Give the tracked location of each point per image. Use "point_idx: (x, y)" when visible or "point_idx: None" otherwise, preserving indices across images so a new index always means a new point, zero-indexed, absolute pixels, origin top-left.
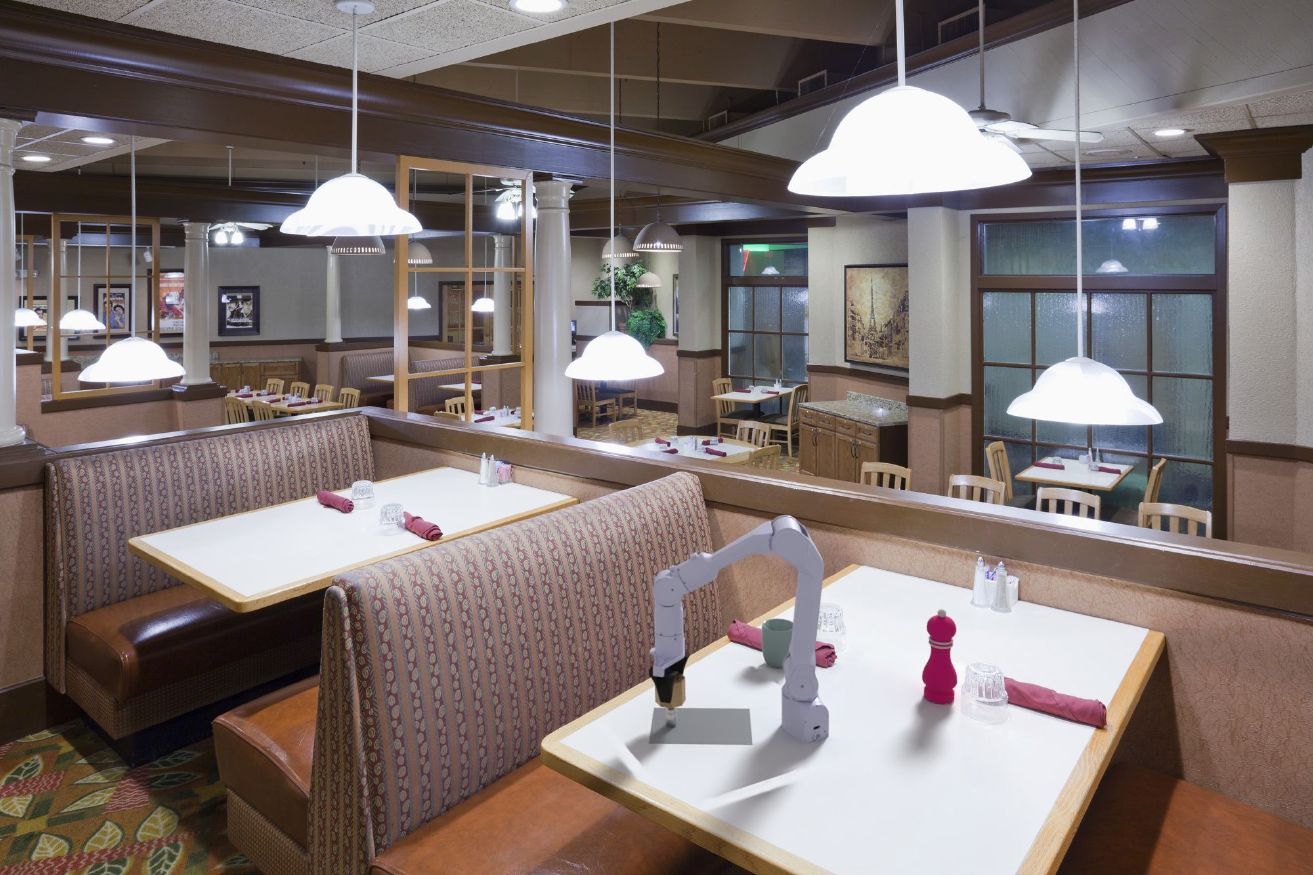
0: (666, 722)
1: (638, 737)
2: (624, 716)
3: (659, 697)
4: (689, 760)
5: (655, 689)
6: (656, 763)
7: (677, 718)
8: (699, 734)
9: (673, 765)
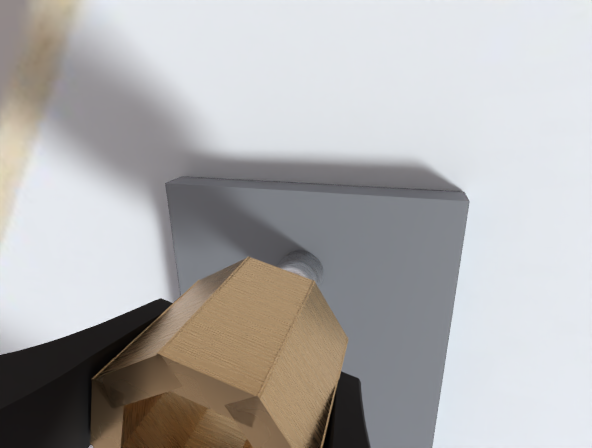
0: (285, 258)
1: (263, 129)
2: (459, 34)
3: (137, 310)
4: (150, 297)
5: (206, 300)
6: (117, 201)
7: (355, 297)
8: None
9: (118, 251)
